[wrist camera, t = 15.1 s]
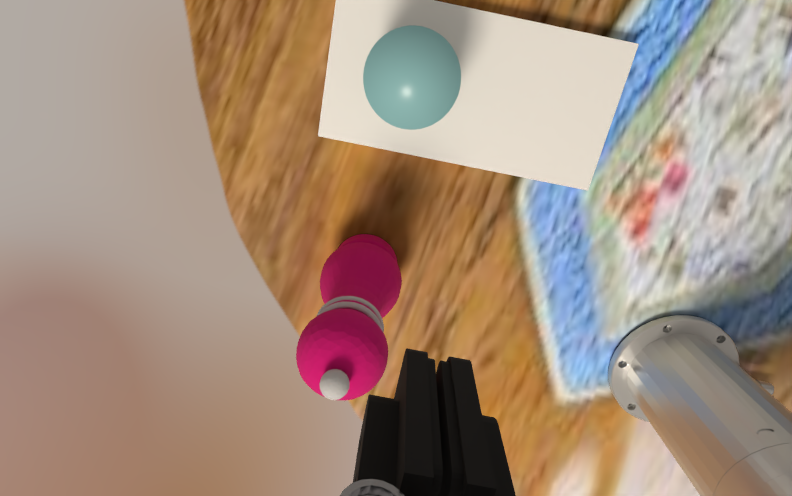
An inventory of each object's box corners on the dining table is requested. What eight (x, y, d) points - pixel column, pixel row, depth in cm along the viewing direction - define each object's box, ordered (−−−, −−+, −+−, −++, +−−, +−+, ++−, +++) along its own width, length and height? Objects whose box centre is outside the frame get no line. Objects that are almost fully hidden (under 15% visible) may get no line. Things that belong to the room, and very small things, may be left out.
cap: (462, 43, 36) (471, 36, 30) (443, 129, 38) (448, 138, 32) (378, 25, 35) (372, 15, 30) (364, 113, 38) (355, 119, 32)
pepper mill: (348, 215, 44) (298, 318, 25) (415, 249, 45) (417, 372, 26) (317, 277, 46) (251, 413, 27) (382, 308, 47) (361, 460, 28)
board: (629, 45, 38) (677, 37, 31) (581, 186, 42) (613, 207, 35) (341, -17, 37) (325, -38, 30) (321, 133, 41) (303, 144, 34)
